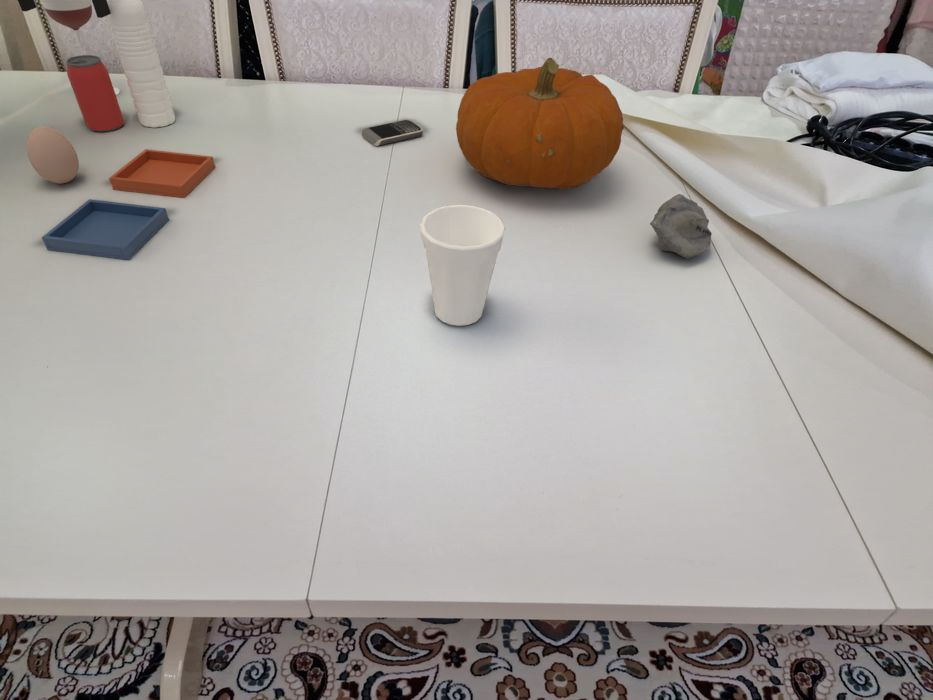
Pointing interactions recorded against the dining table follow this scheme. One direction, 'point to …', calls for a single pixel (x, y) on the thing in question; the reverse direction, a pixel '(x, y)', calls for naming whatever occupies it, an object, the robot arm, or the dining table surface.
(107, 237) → the blue tray
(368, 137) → the cell phone
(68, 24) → the wineglass
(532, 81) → the pumpkin
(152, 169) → the terracotta tray
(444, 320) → the cup
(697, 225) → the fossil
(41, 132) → the egg
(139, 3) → the water bottle
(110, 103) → the beer can
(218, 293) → the dining table surface
